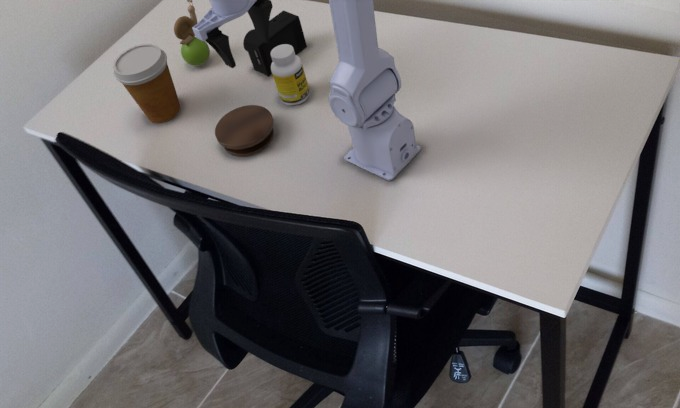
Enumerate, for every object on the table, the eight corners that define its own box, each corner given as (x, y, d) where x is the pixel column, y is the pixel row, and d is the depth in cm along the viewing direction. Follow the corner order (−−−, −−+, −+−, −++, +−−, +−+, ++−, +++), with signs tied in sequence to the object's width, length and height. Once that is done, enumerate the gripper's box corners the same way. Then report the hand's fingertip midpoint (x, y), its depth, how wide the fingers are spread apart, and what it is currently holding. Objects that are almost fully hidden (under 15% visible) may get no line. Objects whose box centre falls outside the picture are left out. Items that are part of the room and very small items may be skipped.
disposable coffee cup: (199, 105, 123) (174, 51, 115) (159, 136, 120) (130, 83, 111) (168, 88, 129) (143, 36, 120) (129, 118, 125) (100, 66, 116)
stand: (289, 129, 114) (284, 116, 112) (248, 167, 110) (242, 154, 108) (249, 111, 119) (244, 98, 117) (208, 146, 115) (202, 133, 113)
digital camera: (288, 38, 132) (279, 7, 127) (307, 46, 129) (298, 15, 124) (250, 68, 128) (238, 37, 123) (268, 77, 125) (257, 46, 120)
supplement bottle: (306, 106, 117) (293, 60, 110) (277, 106, 119) (261, 61, 111) (313, 85, 120) (300, 40, 113) (285, 86, 122) (270, 42, 115)
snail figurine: (221, 53, 133) (200, 0, 124) (201, 73, 130) (178, 20, 121) (201, 49, 135) (179, -4, 127) (181, 68, 132) (157, 16, 124)
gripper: (240, -49, 108) (264, 23, 118) (170, -3, 103) (200, 68, 113) (268, -39, 104) (290, 35, 114) (196, 10, 99) (226, 82, 109)
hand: (247, 52), depth 113 cm, fingers open, 7 cm apart
